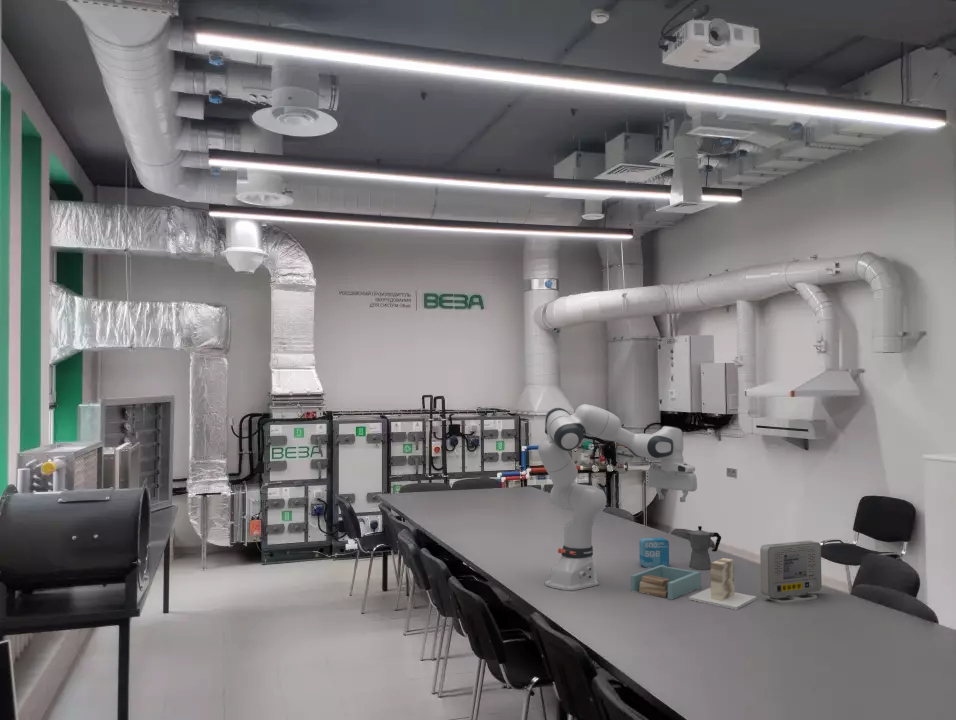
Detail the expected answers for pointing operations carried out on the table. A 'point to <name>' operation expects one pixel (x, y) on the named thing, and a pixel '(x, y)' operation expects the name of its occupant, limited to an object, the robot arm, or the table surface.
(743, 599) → the pad
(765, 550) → the network device
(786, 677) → the table surface
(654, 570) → the tray
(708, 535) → the coffeepot
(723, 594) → the beige wooden block
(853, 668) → the table surface
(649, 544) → the data package
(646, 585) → the offcut stack
